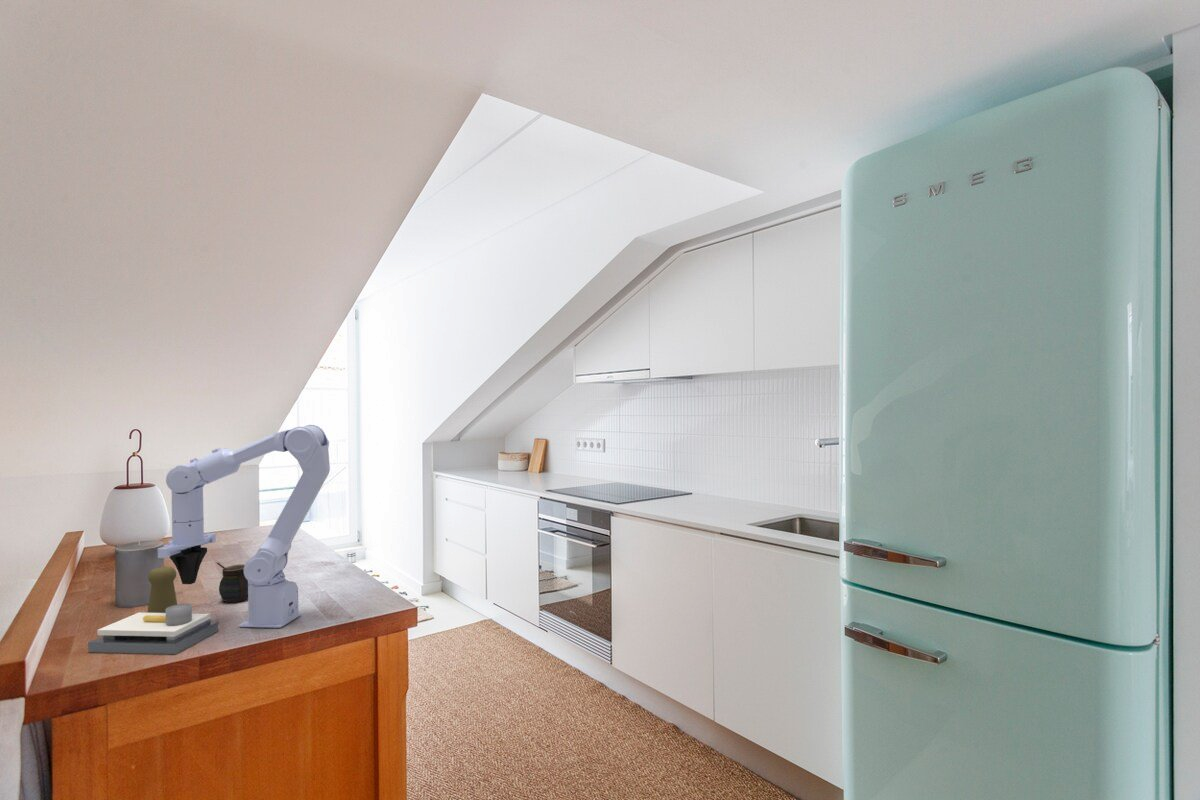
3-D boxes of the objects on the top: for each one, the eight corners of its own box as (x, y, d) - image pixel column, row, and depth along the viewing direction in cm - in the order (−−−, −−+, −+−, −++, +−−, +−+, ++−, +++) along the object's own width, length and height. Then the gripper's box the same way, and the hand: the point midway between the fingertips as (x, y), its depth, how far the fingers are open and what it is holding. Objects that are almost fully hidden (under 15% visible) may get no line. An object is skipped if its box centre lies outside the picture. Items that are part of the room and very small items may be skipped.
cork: (173, 610, 146) (173, 562, 146) (182, 615, 143) (182, 567, 143) (142, 617, 142) (142, 568, 142) (151, 623, 138) (150, 573, 138)
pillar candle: (118, 599, 155) (116, 538, 155) (166, 592, 160) (164, 533, 160) (112, 610, 147) (111, 546, 146) (163, 603, 152) (162, 541, 152)
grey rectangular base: (218, 631, 133) (218, 616, 133) (175, 654, 121) (175, 638, 121) (138, 629, 134) (138, 615, 134) (88, 652, 122) (88, 636, 122)
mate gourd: (259, 598, 155) (258, 557, 154) (226, 607, 148) (225, 565, 148) (244, 593, 159) (243, 553, 159) (212, 601, 152) (211, 560, 152)
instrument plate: (210, 618, 132) (210, 599, 132) (174, 636, 122) (174, 616, 122) (138, 617, 133) (138, 598, 133) (97, 635, 123) (97, 614, 123)
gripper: (194, 513, 143) (195, 573, 143) (143, 527, 128) (144, 593, 128) (224, 513, 142) (225, 573, 142) (175, 527, 128) (176, 594, 128)
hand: (188, 583), depth 135 cm, fingers closed
